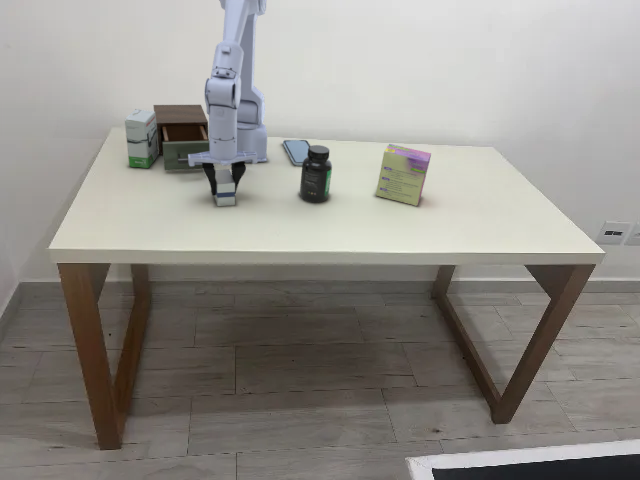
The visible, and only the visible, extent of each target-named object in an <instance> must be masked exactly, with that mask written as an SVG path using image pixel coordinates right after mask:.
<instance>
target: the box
mask: <svg viewBox="0 0 640 480" xmlns="http://www.w3.org/2000/svg"><path fill="white" fill-rule="evenodd" d="M431 156H432V153H431V152H428V151H427V152H426V151H423V150H418V149H414V148H409V147H404V146H400V145H396V144H393V143H389V144H388V145H387V146H386V149H384V152H383V156H382V161H381V164H380V165H381V166H380V172H379V176H378V182H377V187H376V193H375V196H377V197H381V198H385V199H388V200H393V201H396V202H401V203H404V204H407V205H412V206H415V207H417V206H418V205H419V203H420V200H421V197H422V193H423V189H424V186H425V181H426V177H427V173H428V169H429V165H430V161H431Z"/></svg>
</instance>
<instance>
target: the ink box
mask: <svg viewBox="0 0 640 480" xmlns="http://www.w3.org/2000/svg"><path fill="white" fill-rule="evenodd" d="M124 126H125V127H124V128H125V136H126V137H125V138H126V147H127V154H128V156H127V158H128V164H129V167H131V168H141V169H143V168H144V169H149V168H150V167H151V166H152V165H153V163H154V162H155V160H156V159H157V158H158V156H159V151H158V143H157V130H156V115H155V112H154V110H147V109H139V108H138V109H137V108H135V109H134V110H133V111H132V112H131V113H130V114H129V115H127V116H126V117H125V118H124Z"/></svg>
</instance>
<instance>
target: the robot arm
mask: <svg viewBox="0 0 640 480" xmlns="http://www.w3.org/2000/svg"><path fill="white" fill-rule="evenodd" d="M218 1H219V2H220V8H221V9H222V10H224V18H223V33H222V41H220V42H219V43H217V44H216V46H215V49H214V54H213V61H212V67H211V72H210V78H209V77H208V78H206V80H205V83H204V93H203V94H204V95H203V96H204V103H205V106H206V114H207V115H208V141H209V146H210V151H207V152H202V153H197V154H188V163H189V166H195V165H202V167H203V169H202V171H203V173H204V175H205V176H206V178H207V180H208V183H209V186H210V191H211V196H213V197H214V195H216V188H215V174H216V171H215V170H216V169H215V165H221V166H223V167H224V166H230V169H231V170H230V171H231V175H232V177H233V179H234V182H235V195H236V194H237V190H238V187H239V183H240V181H241V179H242V177H243V175H244V174H245V173H246V170H247V166H246V163H247V164H248V163H251V164H258V163H263V162H265V163H266V162H268V158H267V151H268V129H267V127H266V124H265V123H264V122H265V115H266V103H265V94H264V93H263V92H262V91H261V90H259V88H257V87H256V86H255V61H256V60H255V59H256V29H257V28H256V25H257V20H258V17H259V16H264V15H265V14H266V11H267V0H218Z"/></svg>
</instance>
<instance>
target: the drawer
mask: <svg viewBox="0 0 640 480" xmlns="http://www.w3.org/2000/svg"><path fill="white" fill-rule="evenodd" d="M162 132H163V142H162V145H163V155H162V156H163V157H162V158H163V169H164V171H183V170H199V169H200V170H201V169H202V170H203V167H202V165H195V166H189V163H188V154H197V153H202V152H207V151H210V146H209V138H208V139H207V136H206V133H205V131H204V128H203V125H179V126H162Z"/></svg>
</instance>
